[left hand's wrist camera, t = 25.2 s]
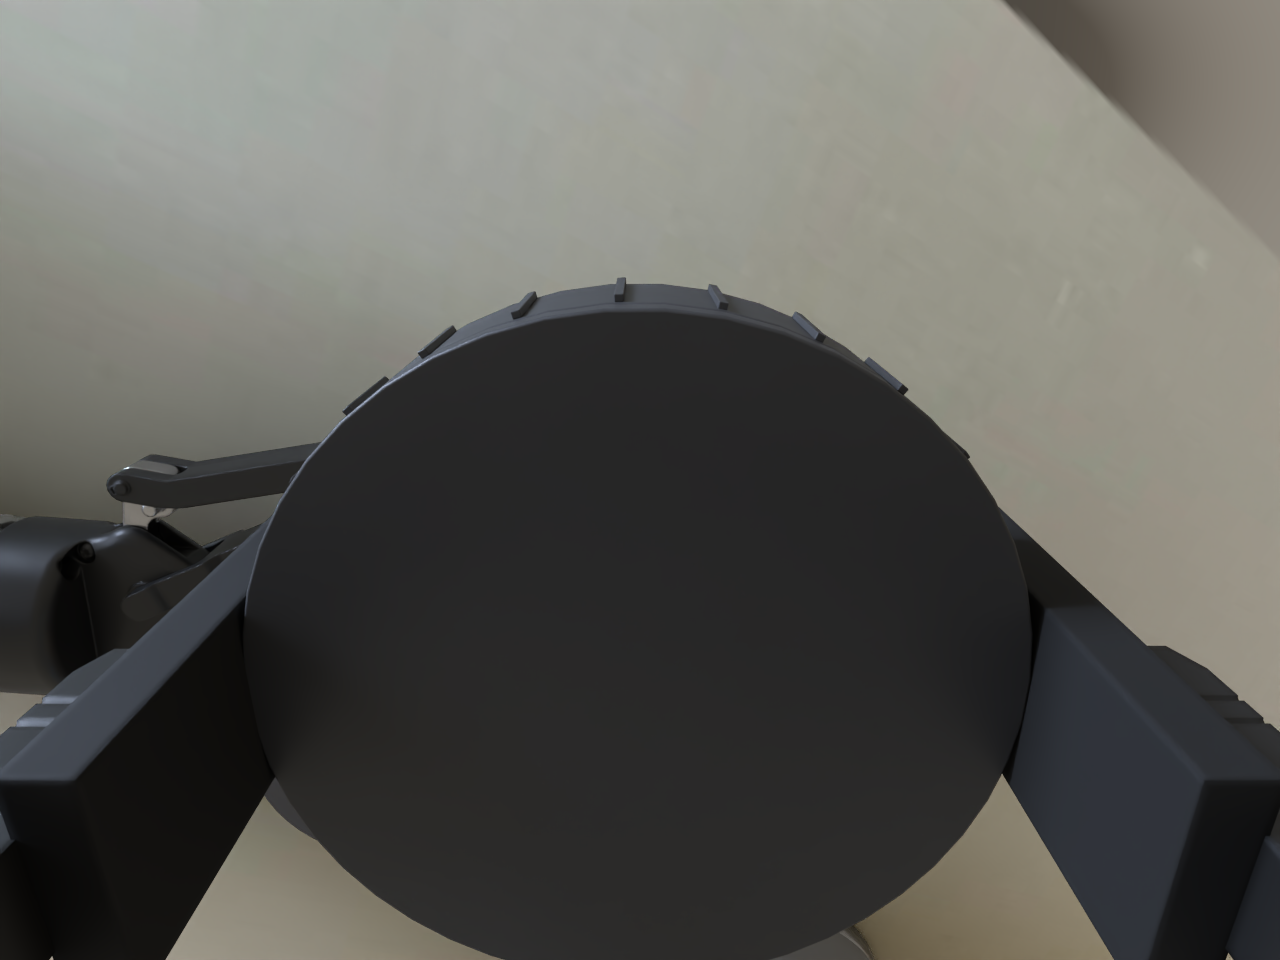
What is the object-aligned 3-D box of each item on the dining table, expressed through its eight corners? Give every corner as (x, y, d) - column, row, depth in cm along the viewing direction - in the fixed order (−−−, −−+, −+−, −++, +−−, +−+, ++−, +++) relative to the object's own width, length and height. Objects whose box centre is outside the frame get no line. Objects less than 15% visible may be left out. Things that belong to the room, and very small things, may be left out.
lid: (463, 929, 15) (435, 1046, 13) (170, 419, 11) (71, 472, 9) (1024, 784, 13) (1090, 888, 11) (890, 163, 10) (951, 161, 8)
